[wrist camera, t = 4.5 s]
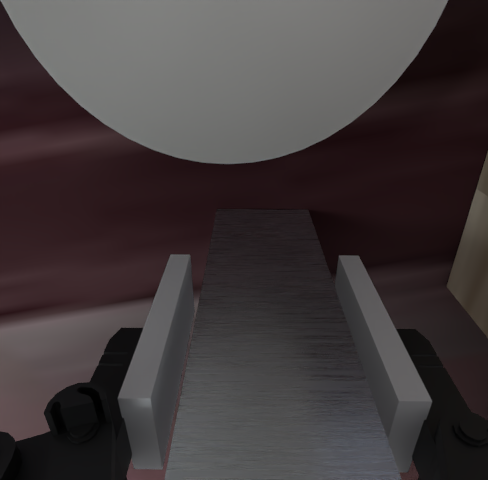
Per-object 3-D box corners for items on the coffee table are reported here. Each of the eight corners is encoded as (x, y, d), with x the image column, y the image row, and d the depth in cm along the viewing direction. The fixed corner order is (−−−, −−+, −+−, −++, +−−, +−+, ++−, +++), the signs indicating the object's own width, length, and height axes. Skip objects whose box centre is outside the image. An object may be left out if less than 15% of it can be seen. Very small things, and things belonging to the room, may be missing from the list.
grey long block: (219, 284, 18) (158, 787, 6) (216, 209, 16) (119, 716, 4) (301, 285, 18) (409, 794, 6) (308, 209, 16) (485, 724, 4)
